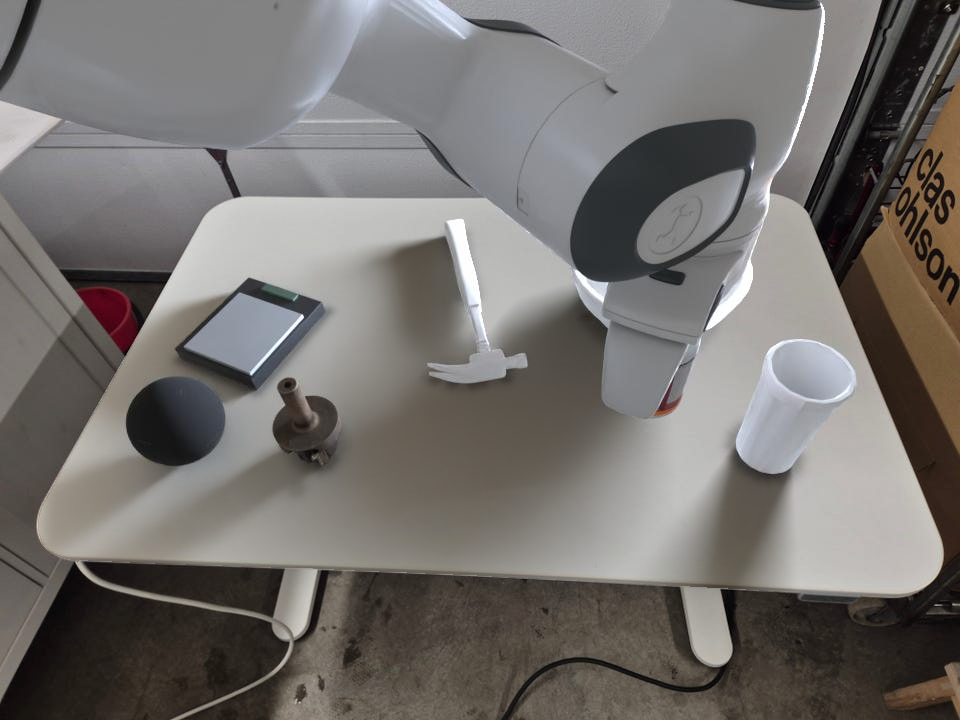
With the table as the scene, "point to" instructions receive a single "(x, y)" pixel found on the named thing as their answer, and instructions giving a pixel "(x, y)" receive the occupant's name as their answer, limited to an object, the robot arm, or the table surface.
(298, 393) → the industrial component
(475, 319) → the hammer
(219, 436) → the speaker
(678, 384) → the pill bottle
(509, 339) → the table surface
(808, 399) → the cup
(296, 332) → the scale
